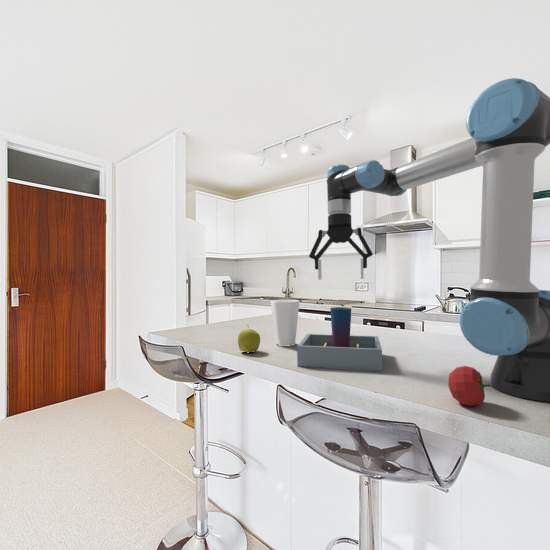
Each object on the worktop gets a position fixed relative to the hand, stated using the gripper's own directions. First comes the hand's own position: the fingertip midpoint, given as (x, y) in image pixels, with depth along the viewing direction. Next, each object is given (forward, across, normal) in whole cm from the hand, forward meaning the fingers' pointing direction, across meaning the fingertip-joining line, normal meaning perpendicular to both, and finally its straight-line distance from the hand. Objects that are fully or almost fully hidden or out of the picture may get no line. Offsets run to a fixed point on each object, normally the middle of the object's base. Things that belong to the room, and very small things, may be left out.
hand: (340, 279), depth 108 cm
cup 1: (+25, +22, -15) cm, 37 cm away
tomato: (+26, -28, +33) cm, 51 cm away
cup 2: (+25, 0, 0) cm, 25 cm away
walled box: (+26, 0, +3) cm, 26 cm away
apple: (+26, +32, -1) cm, 41 cm away
